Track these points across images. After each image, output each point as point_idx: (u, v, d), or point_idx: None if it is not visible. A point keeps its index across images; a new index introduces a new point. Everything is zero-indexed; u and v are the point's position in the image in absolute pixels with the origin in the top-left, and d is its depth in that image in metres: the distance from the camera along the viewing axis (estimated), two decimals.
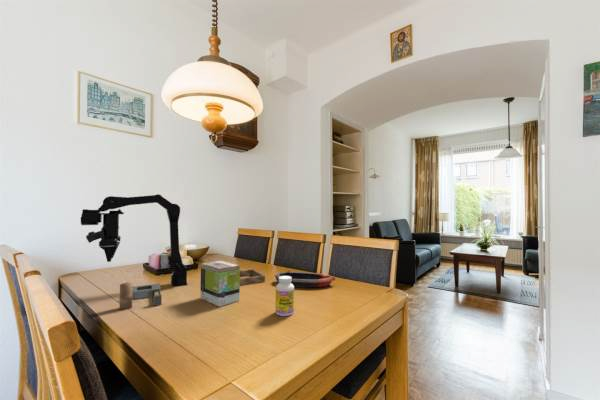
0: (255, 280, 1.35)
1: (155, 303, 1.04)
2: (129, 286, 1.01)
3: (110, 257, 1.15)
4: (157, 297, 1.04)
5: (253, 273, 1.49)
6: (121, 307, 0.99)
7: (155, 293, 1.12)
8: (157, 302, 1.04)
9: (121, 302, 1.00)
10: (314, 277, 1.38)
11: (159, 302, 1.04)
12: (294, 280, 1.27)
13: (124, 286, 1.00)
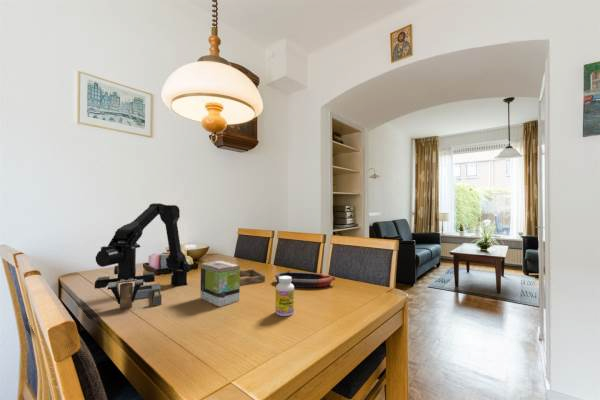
0: (255, 280, 1.35)
1: (155, 303, 1.04)
2: (129, 286, 1.01)
3: None
4: (157, 297, 1.04)
5: (253, 273, 1.49)
6: (121, 307, 0.99)
7: (155, 293, 1.12)
8: (157, 302, 1.04)
9: (121, 302, 1.00)
10: (314, 277, 1.38)
11: (159, 302, 1.04)
12: (294, 280, 1.27)
13: (124, 286, 1.00)
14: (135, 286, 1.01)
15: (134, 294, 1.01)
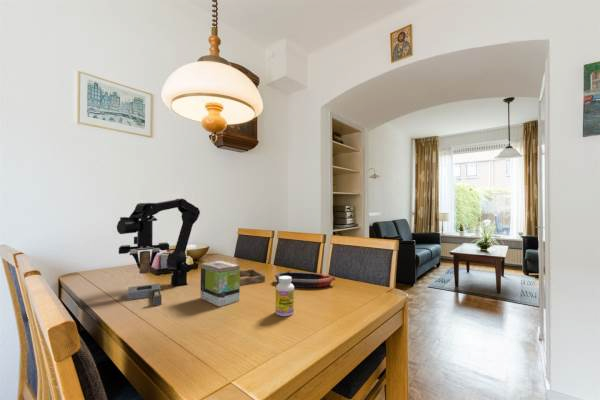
0: (255, 280, 1.35)
1: (155, 303, 1.04)
2: (147, 253, 1.16)
3: (137, 264, 1.15)
4: (157, 297, 1.04)
5: (253, 273, 1.49)
6: (141, 271, 1.15)
7: (155, 293, 1.12)
8: (157, 302, 1.04)
9: (141, 267, 1.15)
10: (314, 277, 1.38)
11: (159, 302, 1.04)
12: (294, 280, 1.27)
13: (143, 253, 1.15)
14: (153, 253, 1.16)
15: (152, 260, 1.17)
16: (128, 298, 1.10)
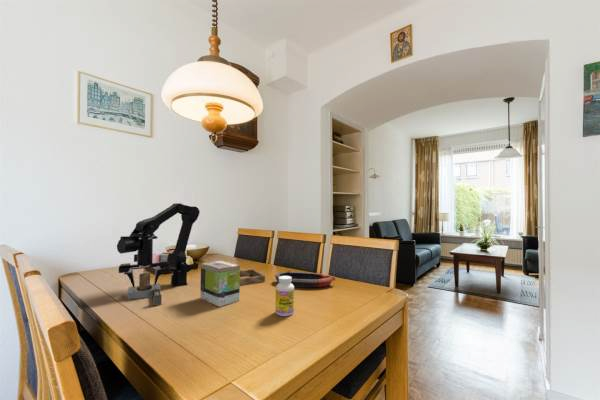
0: (255, 280, 1.35)
1: (155, 303, 1.04)
2: (147, 276, 1.16)
3: None
4: (157, 297, 1.04)
5: (253, 273, 1.49)
6: None
7: (155, 293, 1.12)
8: (157, 302, 1.04)
9: (140, 289, 1.15)
10: (314, 277, 1.38)
11: (159, 302, 1.04)
12: (294, 280, 1.27)
13: (143, 276, 1.15)
14: (157, 271, 1.17)
15: (156, 278, 1.18)
16: (128, 298, 1.10)
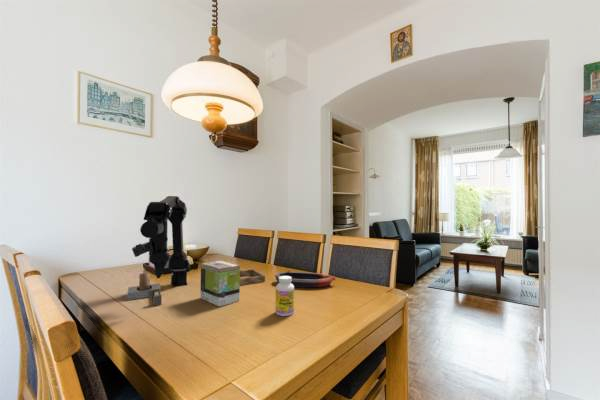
0: (255, 280, 1.35)
1: (155, 303, 1.04)
2: (147, 276, 1.16)
3: (160, 273, 0.99)
4: (157, 297, 1.04)
5: (253, 273, 1.49)
6: None
7: (155, 293, 1.12)
8: (157, 302, 1.04)
9: (140, 289, 1.15)
10: (314, 277, 1.38)
11: (159, 302, 1.04)
12: (294, 280, 1.27)
13: (143, 276, 1.15)
14: None
15: None
16: (128, 298, 1.10)
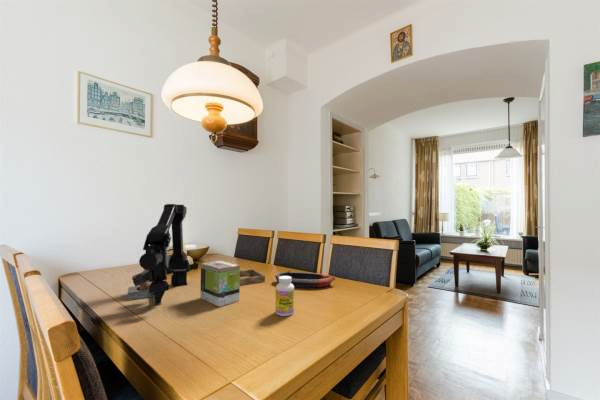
0: (255, 280, 1.35)
1: (155, 302, 1.04)
2: None
3: (159, 299, 1.03)
4: None
5: (253, 273, 1.49)
6: None
7: None
8: None
9: (140, 289, 1.15)
10: (314, 277, 1.38)
11: None
12: (294, 280, 1.27)
13: None
14: None
15: None
16: (128, 298, 1.10)
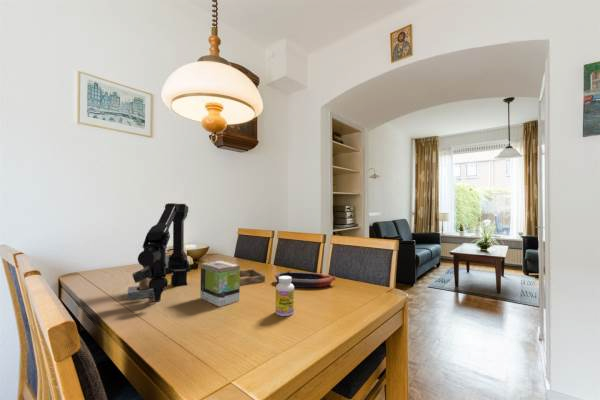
0: (255, 280, 1.35)
1: None
2: None
3: (158, 295, 1.07)
4: None
5: (253, 273, 1.49)
6: None
7: None
8: None
9: (140, 289, 1.15)
10: (314, 277, 1.38)
11: None
12: (294, 280, 1.27)
13: None
14: None
15: None
16: (128, 298, 1.10)
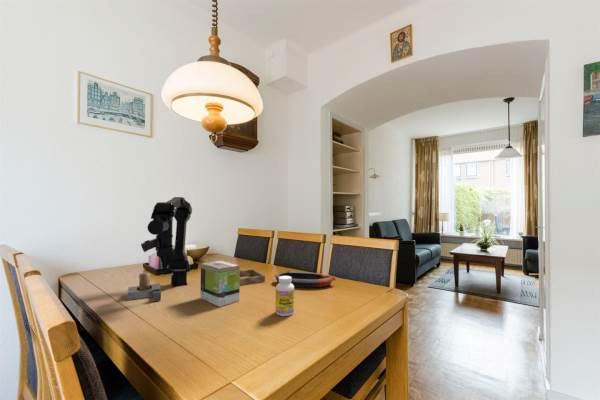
0: (255, 280, 1.35)
1: (155, 299, 1.08)
2: (147, 276, 1.16)
3: (166, 265, 1.11)
4: (157, 293, 1.08)
5: (253, 273, 1.49)
6: None
7: (155, 290, 1.16)
8: (157, 298, 1.08)
9: (140, 289, 1.15)
10: (314, 277, 1.38)
11: (158, 298, 1.09)
12: (294, 280, 1.27)
13: (143, 276, 1.15)
14: None
15: None
16: (128, 298, 1.10)
